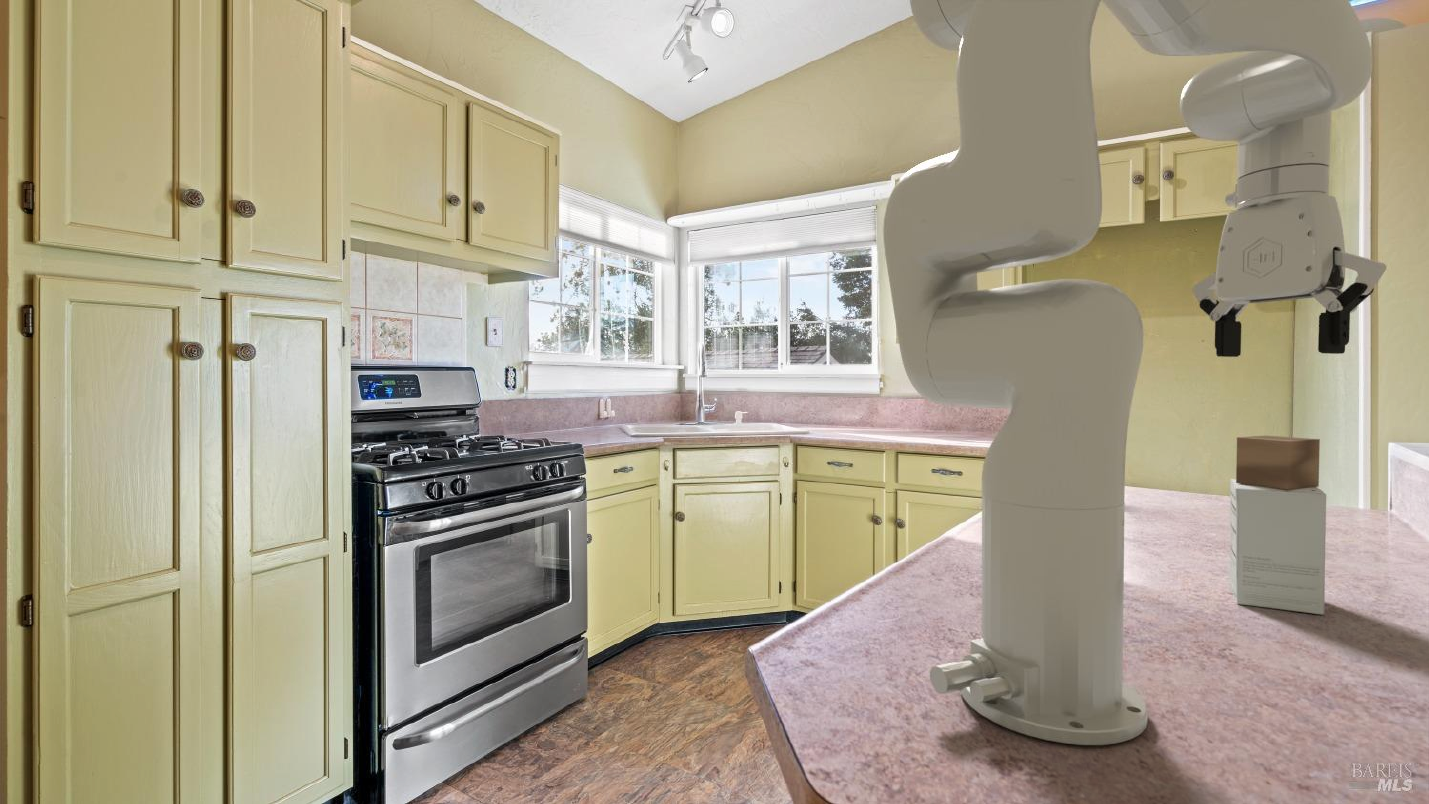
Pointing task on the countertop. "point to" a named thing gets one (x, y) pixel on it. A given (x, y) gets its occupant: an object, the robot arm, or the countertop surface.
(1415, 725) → the countertop surface
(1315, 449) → the walnut cube
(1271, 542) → the supplement box
